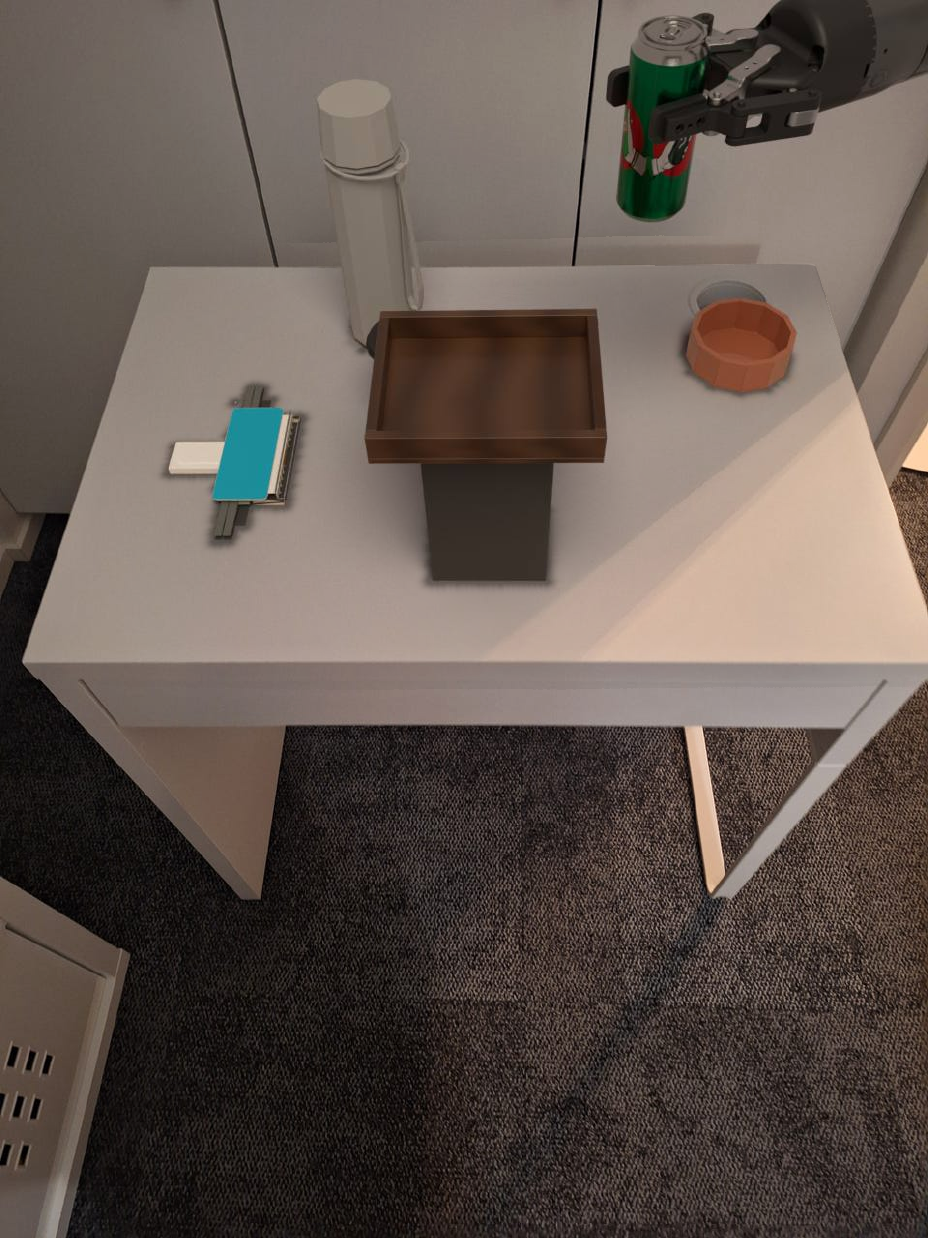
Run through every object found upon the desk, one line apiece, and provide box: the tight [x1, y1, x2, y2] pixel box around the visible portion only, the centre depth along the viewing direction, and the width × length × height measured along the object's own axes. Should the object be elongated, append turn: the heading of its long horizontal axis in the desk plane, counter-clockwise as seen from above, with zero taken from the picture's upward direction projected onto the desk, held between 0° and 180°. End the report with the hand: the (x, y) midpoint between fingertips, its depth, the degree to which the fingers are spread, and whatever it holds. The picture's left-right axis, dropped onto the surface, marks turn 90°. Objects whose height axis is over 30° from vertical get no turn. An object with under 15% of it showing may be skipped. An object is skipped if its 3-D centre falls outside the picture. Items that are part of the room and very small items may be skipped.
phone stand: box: [168, 384, 302, 541], centre depth 90 cm, size 20×12×2 cm, turn 178°
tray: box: [364, 308, 608, 465], centre depth 67 cm, size 17×14×2 cm
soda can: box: [615, 14, 710, 223], centre depth 63 cm, size 5×5×12 cm
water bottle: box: [316, 78, 425, 347], centre depth 89 cm, size 9×8×25 cm
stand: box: [420, 463, 555, 582], centre depth 76 cm, size 10×8×18 cm
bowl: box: [685, 297, 798, 393], centre depth 94 cm, size 10×10×4 cm
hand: (631, 107), depth 61 cm, fingers closed on soda can, 5 cm apart
